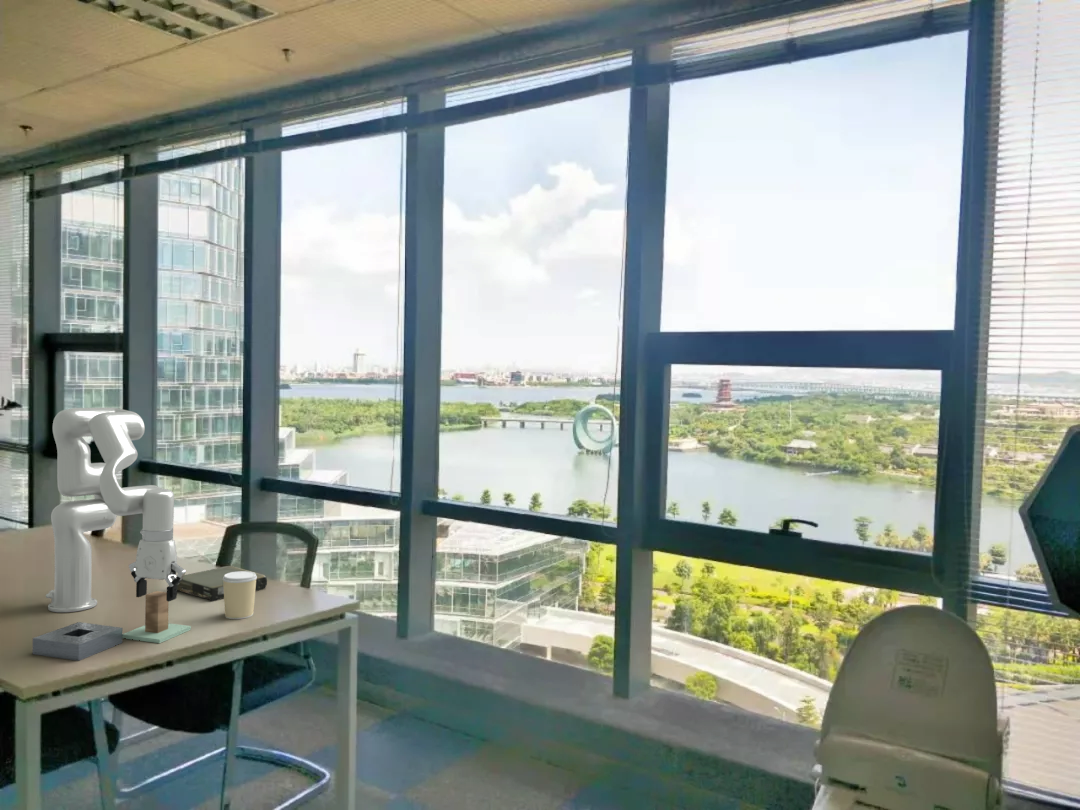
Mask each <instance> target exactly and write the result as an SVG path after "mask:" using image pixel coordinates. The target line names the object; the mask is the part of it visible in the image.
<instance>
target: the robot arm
mask: <svg viewBox="0 0 1080 810" xmlns="http://www.w3.org/2000/svg"><path fill="white" fill-rule="evenodd" d="M52 422H53V423H52V434H53V438H54V441H55V442H54V443H55V444H56V450H57V452H56V453H57V458H56V459H57V465H56V466H57V467H56V468H57V472H56V474H57V481H56V482H57V490H58V492H59V494H60V495H61V496H64V497H71V498H72V497H75V498H76V497H84V496H92V495H94V498H91V499H89V498H88V499H79V500H78V499H77V500H71V501H66V502H62V503H60V504H58V505H56V506H55V507H54V508H53V509H52V511H51V513H50V514H51V515H50V521H51V527H52V531H53V539H54V540H53V541H54V589H50V590H49V592H48V593H46V594H45V598H46V599H51V602H50V603H49V604H48V606H47V609H48V610H49V611H50V612H54V613H73V612H74V613H75V612H82V611H85V610H89V609H91V608H94V607H96V606H97V605H98V599H96V598H93V597H92V557H93V556H92V554H93V553H92V552H93V551H92V545H91V542H90V541H89V539H87V537H86V536H85V533H88V532H93V531H100V530H101V531H102V530H105V529H109V528H112V526H114V524H115V523H116V521H117V516H118V517H123V516H131V515H132V516H133V515H138V514H139V515H140V514H142V529H140V531H139V533H140V535H141V536H142V537H141V538H142V539H140V540H139V543H138V545H137V551H136V557H135V561H133V562H132V563H130V564H128V568H129V570H130V572H131V573H130V575H131V577H133V581H134V583H136V586H135V587H136V588H135V589H136V590H135V591H136V592H135V593H136V594H135V596H136V598H140V597H143V596H146V594H148V591H147V590H148V589H147V588H148V581H147V580H146V579H151V580H158V581H161V580H162V581H163V580H165V581H166V584H167V587H166V592H167V597H166V600H167V601H169V602H172V601H174V600H176V599H177V598H178V590H177V585H178V584H179V583H180V582H181V581H182V579H183V577H184V575H186V574H187V573H186V572H187V570H186V569H184V568H183V567H182V566H181V565H179V564H178V555H177V547H176V541H175V540H174V517H175V516H174V515H175V514H174V513H175V509H174V508H175V493H174V492H173V490H171V489H165V488H162V487H160V486H157V485H155V484H147V485H136V486H135V485H134V486H127V487H121V486H120V484H119V482H118V476H117V473H119V472H121V471H123V470H124V469H127V468H129V466H131V465H133V463H134V462H136V460H137V459H138V455H139V454H138V451H137V448H136V447H135V445H134V443H133V441H139V440H140V439H141V438H142V437H143V436H144V434H145V432H146V431H145V430H146V428H145V423H144V419H143V418H142V417H141V415H139V414H138V413H136V412H135V411H131V410H127V409H121V408H119V407H118V408H117V407H72V408H67V409H62V410H60V411H58V412H57V414H56V415H55V417H54V418H53V421H52ZM85 437H87V438H88V437H92V439H93V441H94V444H95V445H96V447H97V450H98V451H99V454H100V455H101V458H102V459H103V461H104V462H92V461H91V452H92V451H91V447H90V445H89V444H88V442H87V441H86V440H85V439H84V438H85Z"/></svg>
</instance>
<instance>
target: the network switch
mask: <svg viewBox="0 0 1080 810" xmlns="http://www.w3.org/2000/svg"><path fill="white" fill-rule="evenodd" d="M238 571H249V572H254V571H251V570H248V569H244V568H240V567H236V566H233V565H232V566H231V565H225V566H220V567H217V568H212V569H209V570H208V569H206V570H202V571H198V572H192V573H188V574H187V573H186V574H185V575H184V577H183V579H182V581H181V582H180V583H179V584H178V585H177V591H179V592H181V593H182V592H183V593H185V594H187V595H189V594H190V595H191V596H194V597H200V598H204V599H206V600H209V601H210V602H216V601H219V600H221V599H224V582H223V577H224V575H225V574H227V573H231V572H238ZM254 573H255V574H256V576H257V579H256V589H255V592H258V591H263V590H266V588H267V585H268V579H267V576H266V575H265V574H262V573H258V572H254Z"/></svg>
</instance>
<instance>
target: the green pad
mask: <svg viewBox="0 0 1080 810" xmlns="http://www.w3.org/2000/svg"><path fill="white" fill-rule="evenodd" d="M191 630H192V626H191V625H185V624H178V623H170V622H168V629H167V630H164V631H162V632H159V633H152V632H145V625H142V626H140V627H136V628H135V629H132V630H129V631H127V632H124V633H122V639H124V638H126V640H132V639H133V640H134V641H139V640H140V641H141V642H146V643H147V642H148V643H155V644H161V643H163V642H166V641H168V640H171V639H172V638H175V637H177V636H180V635H181V634H184V633H187V632H189V631H191ZM133 640H132V641H133Z"/></svg>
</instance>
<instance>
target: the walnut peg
mask: <svg viewBox="0 0 1080 810" xmlns="http://www.w3.org/2000/svg"><path fill="white" fill-rule="evenodd" d="M166 597H167V591H157V590H155V591H152V592H150V593H147V594H146V595H145V606H144V607H145V611H144V612H145V613H144V615H145V617H144V618H145V619H144V623H145V632H152V633H159V632H162V631H164V630H167V629H168V623H169V602H170V601H167V600H166Z"/></svg>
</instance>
